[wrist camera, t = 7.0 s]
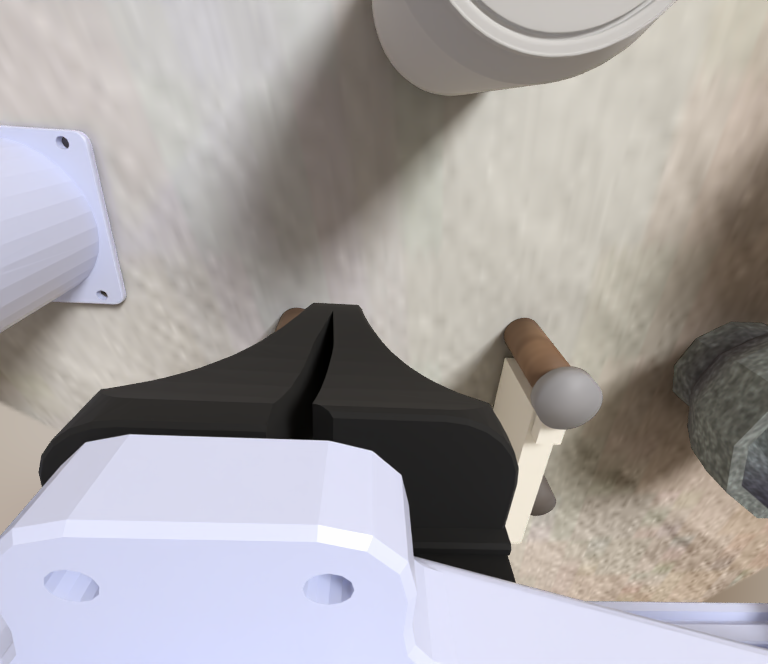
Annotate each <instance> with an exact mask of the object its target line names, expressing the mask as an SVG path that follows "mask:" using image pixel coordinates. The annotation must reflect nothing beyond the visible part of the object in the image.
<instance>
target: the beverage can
mask: <svg viewBox="0 0 768 664" xmlns="http://www.w3.org/2000/svg"><path fill="white" fill-rule="evenodd" d="M676 1H677V0H372V11H373V18H374V23H375V27H376V31H377V35H378V38H379V40H380V43H381V45H382V48H383V50H384V52H385V54H386V55H387V57H388V59H389V60H390V62H391V63H392V65H393V66H394V67H395V69H396V70H397V71H398V72H399V73H400V74H401V75H402V76H403V77H404V78H405V79H406V80H408V81H409V82H410V83H412V84H413V85H415V86H416V87H418V88H420V89H422V90H424V91H427V92H430V93H433V94H437V95H443V96H456V95H465V94H472V93H480V92H487V91H495V90H502V89H509V88H517V87H524V86H531V85H539V84H546V83H552V82H557V81H561V80H565V79H568V78H572V77H575V76H578V75H580V74H583V73H585V72H587V71H589V70H591V69H593V68H596V67H598V66H600V65H602V64H603V63H605V62H607V61H608V60H610V59H611V58H613V57H614V56H616V55H617V54H619V53H620V52H622V51H623V50H625V49H626V48H627V47H629V46H630V45H631V44H632V43H633V42H635V41H636V40H637V39H638V38H639V37H640V36H641V35H642V34H643V33H644V32H645V31H646V30H647V29H648V28H649V27H650V26H651V25H652V24H653V23H654V22H655V21H656V20H657V19H658V17H659V16H661V15H662V14H663V13H664V12H665V11H666V10H667V9H668V8H669V7H671V6H672V5H673V4H674V3H675V2H676Z"/></svg>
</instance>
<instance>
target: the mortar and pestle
mask: <svg viewBox="0 0 768 664" xmlns="http://www.w3.org/2000/svg"><path fill="white" fill-rule="evenodd" d="M673 392H674V393H675V394H676V395H677V396H678V397H679V398H681V399H682V400H683V401H684V402H685V403H686V404H687V405H688V406H689V415H688V425H687V426H688V432H689V438H690V443H691V448H692V450H693V451H694V453H695V454H696V456H697V457H698V459H699V460H700V462H701V463H702V465H703V466H704V468H705V469H706V471H707V472H708V473H709V474H710V475H711V476H712V477H713V479H714V480H715V481H716V482H717V483H718V484H719V485H720V486H721V487H722V488H723V489H724V490H725V491H726V492H727V493H728V494H729V495H730V496H732V497H733V498H734V499H735V500H736V501H737V502H739V503H740V504H741V505H742V506H743V507H745V508H746V509H747V510H748V511H749V512H751V513H752V514H753V515H754V516H755V517H757V518H768V326H767V325H765V324H764V323H748V322H729V323H727V324H725V325H723V326H721V327H719V328H717V329H715V330H713V331H711V332H709V333H707V334H705V335H703V336H701V337H698V338H696V340H695V341H694V342H693V343H692V344H691V346H690V347H689V348H688V349H687V351H686V352H685V353H684V354H683V356H682V357H681V358H680V359H679V360H678V362H677V363H676V364H675V365H674V378H673Z"/></svg>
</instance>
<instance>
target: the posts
mask: <svg viewBox="0 0 768 664" xmlns="http://www.w3.org/2000/svg"><path fill="white" fill-rule="evenodd" d="M304 310H305V309H302V308H292V309H289V310H287V311H286V312H284V313H283V315H282V316H281V318H280V321H279V323H278V326H277V328H276V330H275V332H276V331H277V330H279V329H280V328H282V327H283V326H285V325H286V324H287V323H289V322H290V321H291V320H292V319H294V318H295V317H296V316H298V315H299V314H300V313H301V312H303V311H304ZM504 340H505V343H506V344H507V346H508V348H509V350H510V351H511V353H512V355H513V356H514V358H515V360H516V361H517V363H518V365H519V367H520V368H521V370H522V372H523V373H524V375H525V377H526V378H527V380H528V382H529V383H530V385H531V387H532V389H533V387H534V385H535V383H536V382H537V381H538V380H539V379H540V378H541V377H542V376H543V375H545V374H546V373H548V372H549V371H551V370H554V369H557V368H560V367H569V366H570V365H569V364H568V362H567V361H566V360H565V358H564V357H563V356H562V355H561V353H560V352H559V351H558V350H557V348H556V347H555V346H554V344H553V343H552V342H551V341H550V339H549V338H548V337H547V336H546V334H545V333H544V332H543V331H542V329H541V328H540V327H539V325H538V324H537V323H536V322H535V321H534V320H532V319H529V318H520V319H517V320H515V321H513V322H511V323H510V324H509V325H508V326H507V328H506V330H505V332H504ZM555 504H556V499H555V497H554V494H553V492H552V490H551V488H550V486H549V484H548V482H547V480H546V478H545V476H544V474H543V477H542V481H541V484H540V487H539V490H538V493H537V496H536V499H535V502H534V505H533V508H532V511H531V514H530V515H533V516H539V515H543V514H546V513H548V512H550V511H551V510H552V509H553V508H554V506H555Z"/></svg>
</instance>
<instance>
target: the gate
mask: <svg viewBox="0 0 768 664" xmlns="http://www.w3.org/2000/svg"><path fill="white" fill-rule="evenodd" d="M602 399H603V396H602V391H601V389H600V387H599V386H598V384H597V383H596V382H595V381H594V380H593V378H592V377H591V376H590V375H589V374H588V373H587V372H586V371H584V370H583V369H580V368H577V367H571V366H569V367H560V368H557V369H554V370H551V371H549V372H548V373H546V374H545V375H543V376H542V377H541V378H540V379H539V380H538V381H537V382H536V383H535V385H534V387H533V389H532V387H531V385H530V383H529V382H528V380H527V378H526V377H525V375H524V373H523V372H522V370H521V368H520V367H519V365H518V363H517V361H516V360H515V358H505V360H504V365H503V369H502V373H501V377H500V382H499V386H498V390H497V395H496V399H495V403H494V408H493V411H494V413H495V414H496V416H497V418H498V419H499V421H500V422H501V424H502V426H503V428H504V430H505V432H506V434H507V435H508V438H509V440H510V442H511V445H512V447H513V450H514V452H515V455H516V459H517V463H518V467H519V473H518V482H517V487H516V490H515V494H514V497H513V501H512V504H511V508H510V511H509V514H508V518H507V521H506V525H505V527H506V530H507V533H508V536H509V540H510V543H521V541H522V538H523V535H524V532H525V529H526V526H527V523H528V520H529V517H530V514H531V511H532V508H533V505H534V502H535V499H536V496H537V493H538V490H539V487H540V484H541V481H542V477H543V474H544V471H545V468H546V465H547V462H548V459H549V456H550V453H551V450H552V447H553V444H556V445H561V442H562V439H563V436H564V433H565V430H566V429H572V428H575V427H578V426H581V425H583V424H584V423H586V422H588V421H589V420H590V419H591V418H593V417H594V416H595V414H596V413H597V412H598V410H599V409H600V406H601V404H602Z"/></svg>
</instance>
